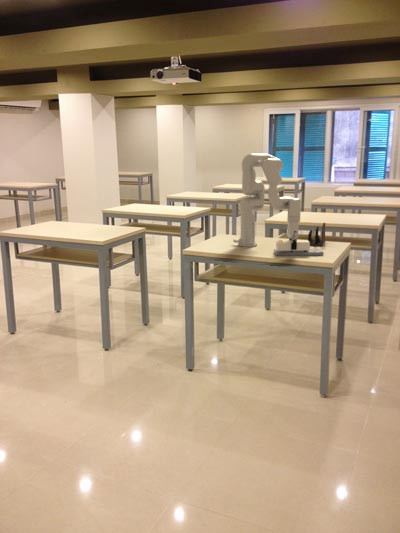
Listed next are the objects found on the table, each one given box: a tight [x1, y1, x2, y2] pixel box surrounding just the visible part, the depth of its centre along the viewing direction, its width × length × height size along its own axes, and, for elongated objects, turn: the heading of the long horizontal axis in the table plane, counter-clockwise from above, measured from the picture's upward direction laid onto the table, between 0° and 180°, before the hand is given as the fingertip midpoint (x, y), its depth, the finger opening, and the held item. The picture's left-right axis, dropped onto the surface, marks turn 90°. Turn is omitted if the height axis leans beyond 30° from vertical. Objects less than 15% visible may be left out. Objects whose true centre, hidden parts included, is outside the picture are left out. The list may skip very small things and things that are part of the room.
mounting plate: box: [273, 248, 325, 257], centre depth 296 cm, size 28×10×4 cm, turn 92°
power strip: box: [275, 239, 311, 251], centre depth 295 cm, size 19×6×6 cm, turn 92°
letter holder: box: [307, 222, 326, 247], centre depth 328 cm, size 10×20×14 cm, turn 162°
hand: (292, 248), depth 295 cm, fingers closed on power strip, 6 cm apart
